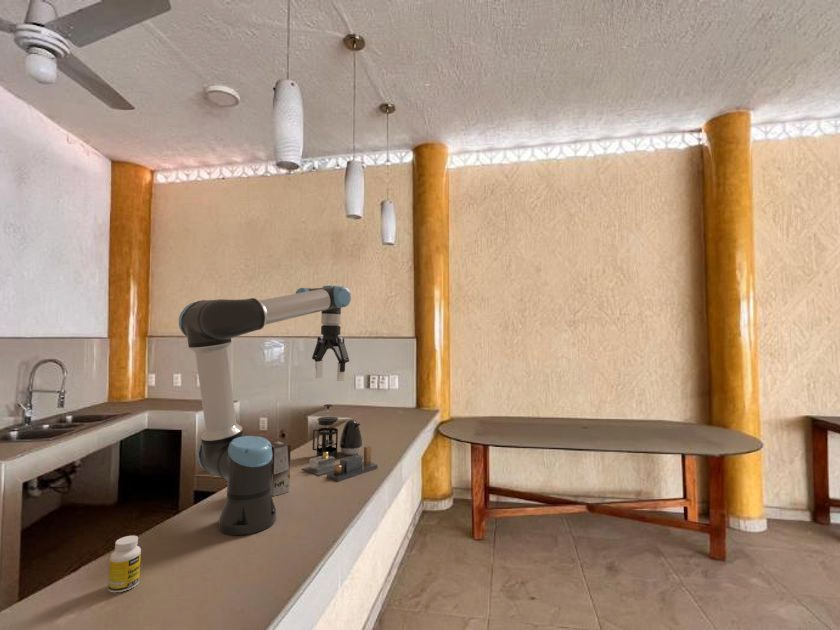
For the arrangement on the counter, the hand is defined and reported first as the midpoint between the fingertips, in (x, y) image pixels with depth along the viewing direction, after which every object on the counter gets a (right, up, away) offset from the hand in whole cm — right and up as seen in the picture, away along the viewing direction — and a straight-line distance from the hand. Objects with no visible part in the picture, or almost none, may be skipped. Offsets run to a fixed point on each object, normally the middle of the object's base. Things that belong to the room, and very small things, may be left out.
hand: (329, 379), depth 159 cm
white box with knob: (-4, -37, +4) cm, 37 cm away
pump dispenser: (+4, -38, +26) cm, 46 cm away
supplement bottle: (-28, -33, -72) cm, 84 cm away
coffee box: (-15, -36, -19) cm, 43 cm away
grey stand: (+9, -37, +1) cm, 38 cm away
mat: (-4, -37, +4) cm, 37 cm away
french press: (-6, -38, +20) cm, 43 cm away
